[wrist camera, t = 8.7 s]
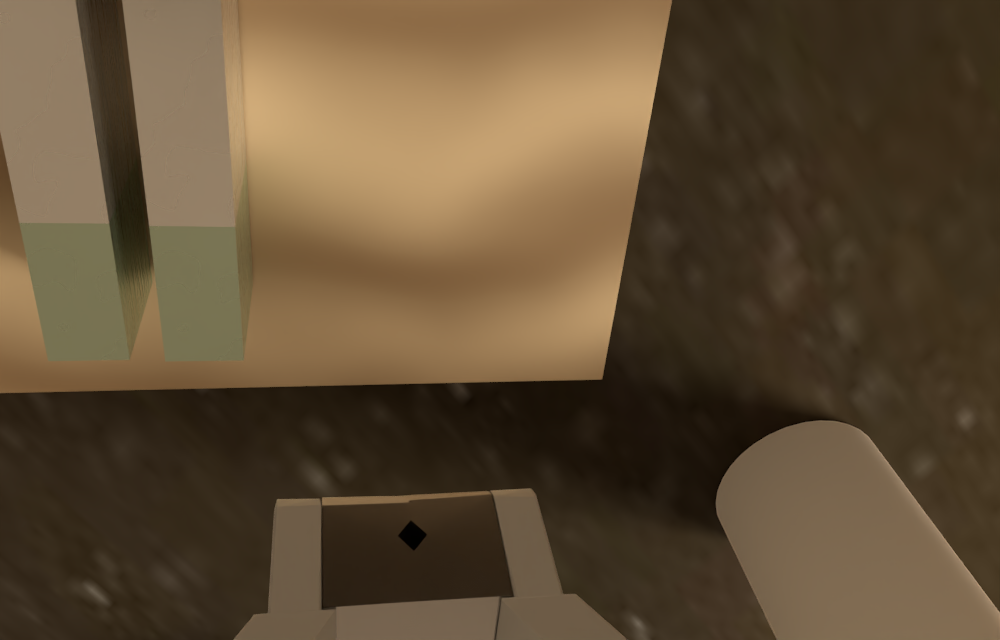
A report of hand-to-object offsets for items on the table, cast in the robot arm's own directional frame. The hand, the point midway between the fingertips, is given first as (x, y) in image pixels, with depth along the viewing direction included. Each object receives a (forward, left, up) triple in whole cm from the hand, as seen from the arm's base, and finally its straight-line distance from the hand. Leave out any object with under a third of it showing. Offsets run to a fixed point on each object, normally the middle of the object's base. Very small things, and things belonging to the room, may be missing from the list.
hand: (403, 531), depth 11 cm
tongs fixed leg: (-1, -7, -17) cm, 19 cm away
